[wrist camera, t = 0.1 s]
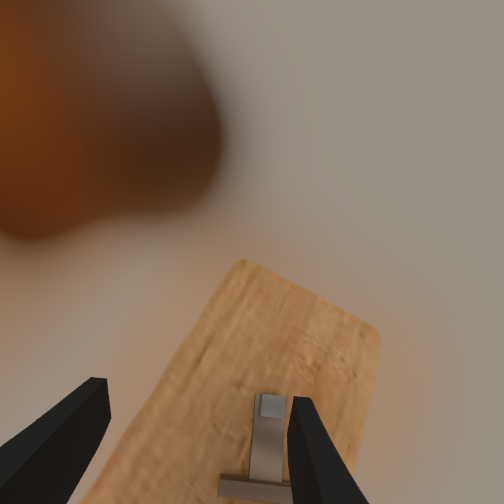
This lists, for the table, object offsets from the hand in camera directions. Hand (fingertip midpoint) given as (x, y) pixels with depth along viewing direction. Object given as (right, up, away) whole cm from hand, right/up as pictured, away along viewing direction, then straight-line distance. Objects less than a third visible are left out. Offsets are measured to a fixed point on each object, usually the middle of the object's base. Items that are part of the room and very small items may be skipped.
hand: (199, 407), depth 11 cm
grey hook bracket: (+4, -19, +26) cm, 33 cm away
